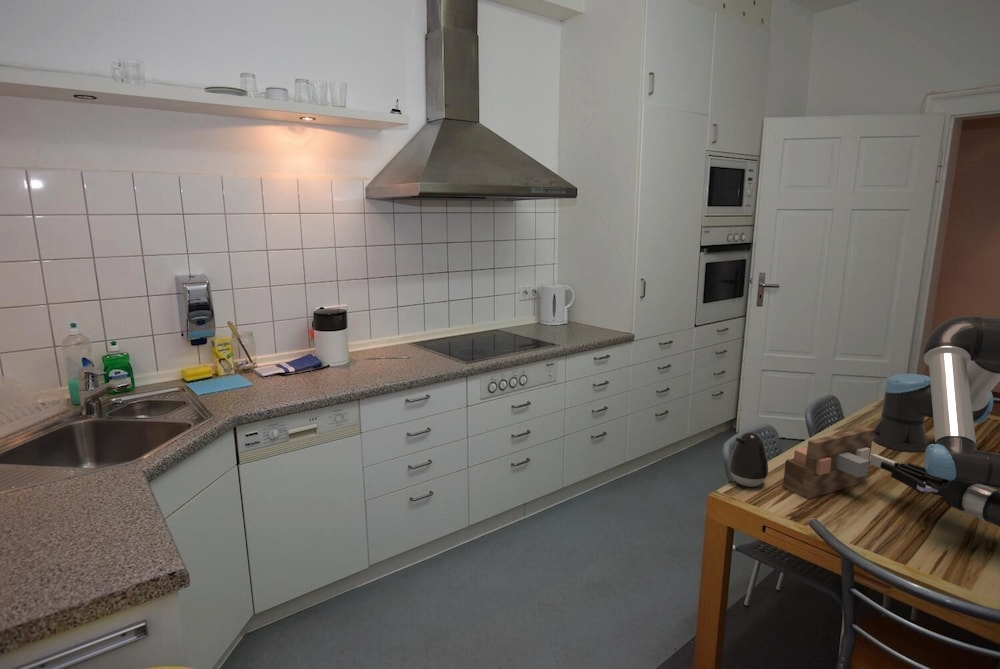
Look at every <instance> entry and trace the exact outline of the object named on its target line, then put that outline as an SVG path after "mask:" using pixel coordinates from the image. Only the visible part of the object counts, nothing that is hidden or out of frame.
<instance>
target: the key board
mask: <svg viewBox="0 0 1000 669" xmlns="http://www.w3.org/2000/svg"><path fill="white" fill-rule="evenodd" d="M874 429H875V428H871V427H868V426H867V427H862V428H857V429H854V430H849V431H848V430H847V431H845V432H841V433H837V434H833V435H828V436H823V437H819V438H816V439H811V440H808V441H807V447H806V448H807V455H806V464H805V466H803V465H801V464H799V463H796V462H794V460H792V459H789V458H788V459H785V467H784V473H783V475H784V476H783V481H782V487H783V488H785V489H787V490H789V491H790V492H793V493H795V494H797V495H799V496H801V497H803V498H805V499H807V500H811V499H814V498H818V497H820V496H824V495H828V494H830V493H834V492H837V491H841V490H843V489H844V490H845V489H848V488H851V487H854V485H855V486H857V484H858V485H861V484H864V482H865V483H866V482H867V479H868V478H867V477H868V475H865V476H861V477H858V478H857V477H855V476H853V475H850V474H848V473H846V472H844V471H841V470H839V469H837V468H835V466H836V458H837V453H841V452H845V451H846V452H848V453H851V454H854V455H856V449H857V448H860V447H867V448H870V453H869V460H871V452H872V445H873V433H874ZM825 456H826V457H829V458H831V466H830V473H826V474H822V475H818V474H816V473H815V470H816V462H817V458H821V457H825ZM847 487H848V488H847Z"/></svg>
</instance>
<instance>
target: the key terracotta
mask: <svg viewBox="0 0 1000 669" xmlns="http://www.w3.org/2000/svg"><path fill="white" fill-rule="evenodd" d="M806 455H807V447H801V448H798V449H795V450H794V454H793V461H794V462H796V463H799V464H801V465H803V466H805V464H806ZM830 466H831V458H829V457H826V456H825V457H821V458H817V462H816V470H815V473H816V474H818V475H822V474H826V473H830Z"/></svg>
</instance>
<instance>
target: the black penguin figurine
mask: <svg viewBox="0 0 1000 669" xmlns="http://www.w3.org/2000/svg"><path fill="white" fill-rule="evenodd" d="M735 441H736V444H735V446H734V448H733V450H732V452H731V456H730V459H729V463H728V470H729V472H730V476H731V477H732V479H733V480H734V481H735V483H737V484H739V485H741V486H744V487H747V488H753V487H758V486H760V485H763V483H764V481H765V480H766V478H767V477H768V474H769V462H768V455H767V450H766V447H765V444H764V441H763V439H762V438H761V436H760V435H759V434H757V433H756V432H753V431H748V432H745V433H743V434H742V435H741V436H740V437H736V438H735Z"/></svg>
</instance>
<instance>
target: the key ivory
mask: <svg viewBox="0 0 1000 669" xmlns="http://www.w3.org/2000/svg"><path fill="white" fill-rule="evenodd" d="M869 453H870V448H867V447H860V448H857V449H856V456H859V457H861V458H864V459H866V460H869V461H870V459H869ZM870 454H871V453H870Z"/></svg>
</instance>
